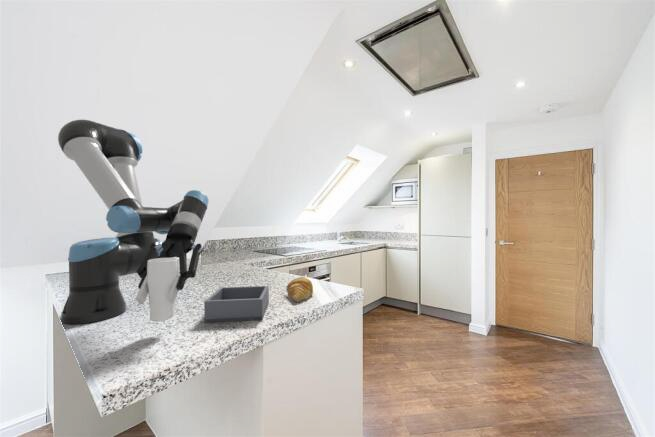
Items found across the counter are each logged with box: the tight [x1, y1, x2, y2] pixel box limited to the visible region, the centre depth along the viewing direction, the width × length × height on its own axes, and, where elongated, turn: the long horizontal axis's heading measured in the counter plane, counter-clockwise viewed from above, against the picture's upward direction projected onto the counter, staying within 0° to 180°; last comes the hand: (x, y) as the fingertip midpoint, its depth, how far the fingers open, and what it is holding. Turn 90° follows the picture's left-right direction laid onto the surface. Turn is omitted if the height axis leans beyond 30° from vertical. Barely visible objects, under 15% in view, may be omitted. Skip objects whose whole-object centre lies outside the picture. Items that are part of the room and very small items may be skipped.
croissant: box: [285, 276, 314, 302], centre depth 104 cm, size 21×10×8 cm, turn 179°
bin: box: [203, 285, 270, 324], centre depth 85 cm, size 16×16×6 cm
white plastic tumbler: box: [147, 257, 179, 322], centre depth 70 cm, size 7×7×15 cm
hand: (155, 301), depth 66 cm, fingers closed on white plastic tumbler, 6 cm apart
